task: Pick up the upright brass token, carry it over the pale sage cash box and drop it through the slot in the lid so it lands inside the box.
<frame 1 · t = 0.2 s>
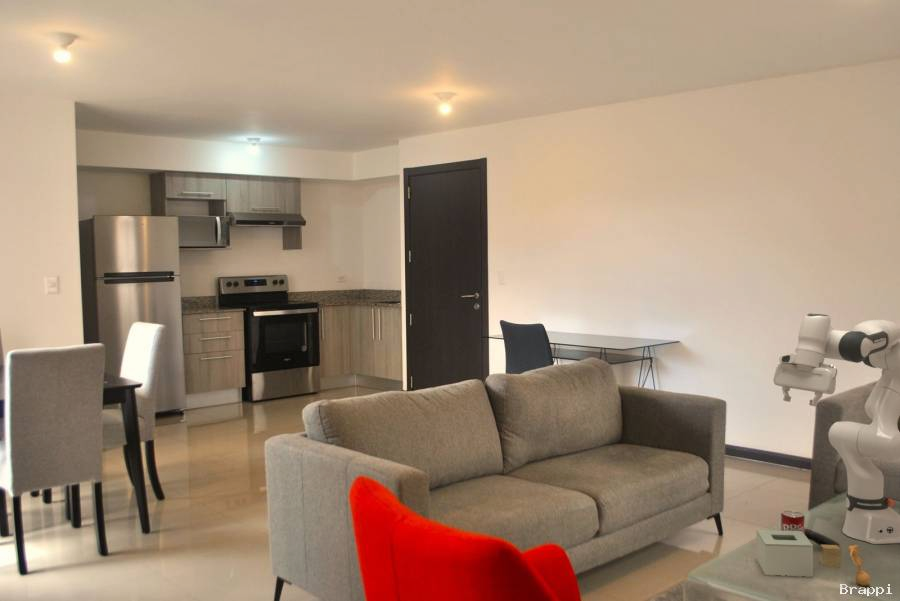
hand: (799, 403, 254), 51 cm above the table, tool tilted 20°, fingers open, 8 cm apart
soda can: (792, 548, 267), on the table
token: (829, 564, 253), on the table
figurine: (858, 584, 238), on the table
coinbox: (783, 568, 251), on the table
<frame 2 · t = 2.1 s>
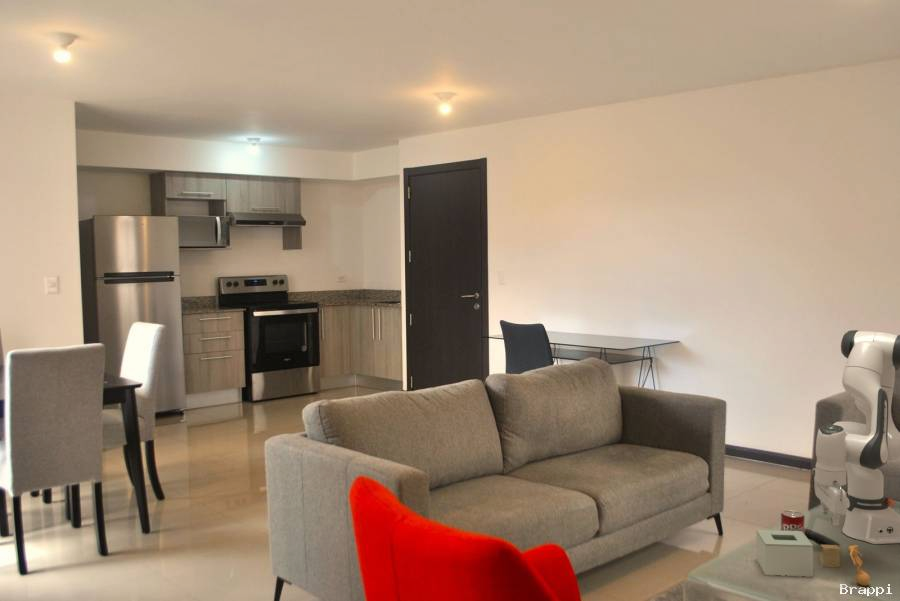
hand: (830, 519, 251), 15 cm above the table, tool pointing down, fingers open, 8 cm apart
nothing on the table moved.
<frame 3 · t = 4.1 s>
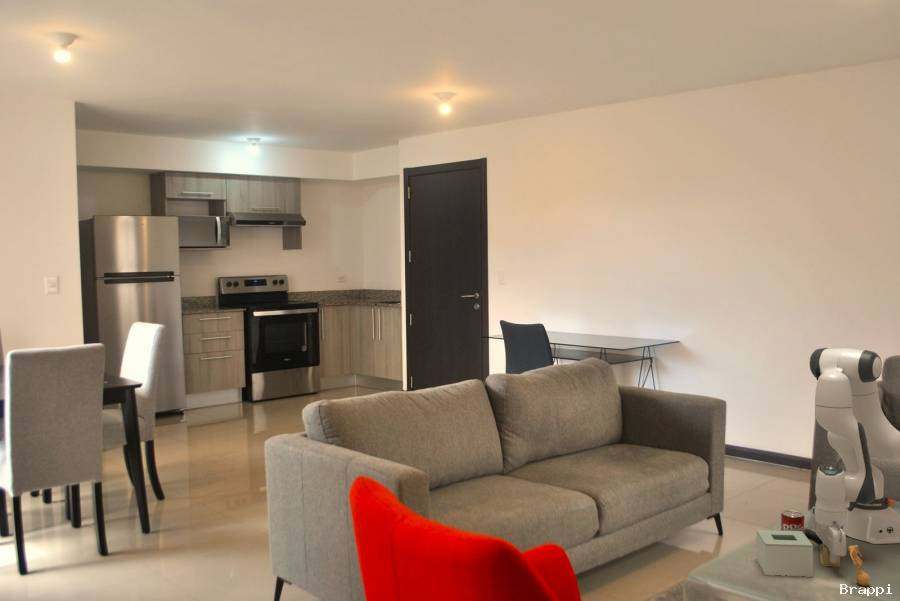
hand: (829, 558, 252), 2 cm above the table, tool pointing down, fingers closed on token, 3 cm apart
token: (829, 564, 253), on the table, touching gripper
everything else where it was.
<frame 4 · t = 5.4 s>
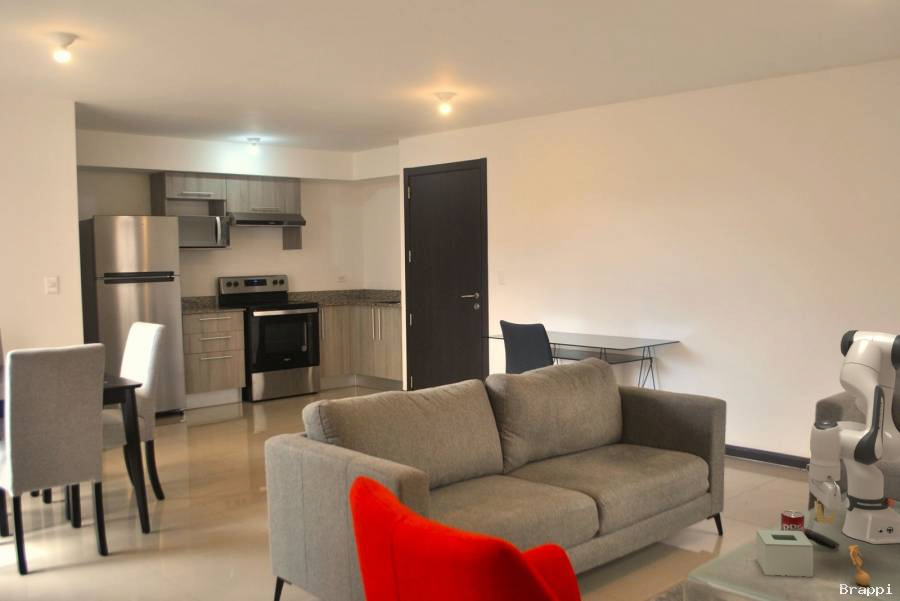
hand: (824, 515, 251), 17 cm above the table, tool pointing down, fingers closed on token, 3 cm apart
token: (824, 521, 251), point 15 cm above the table, touching gripper
everything else where it was.
when the fingers open (13 cm above the table, at t = 6.8 s): token drops 10 cm, resting on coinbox.
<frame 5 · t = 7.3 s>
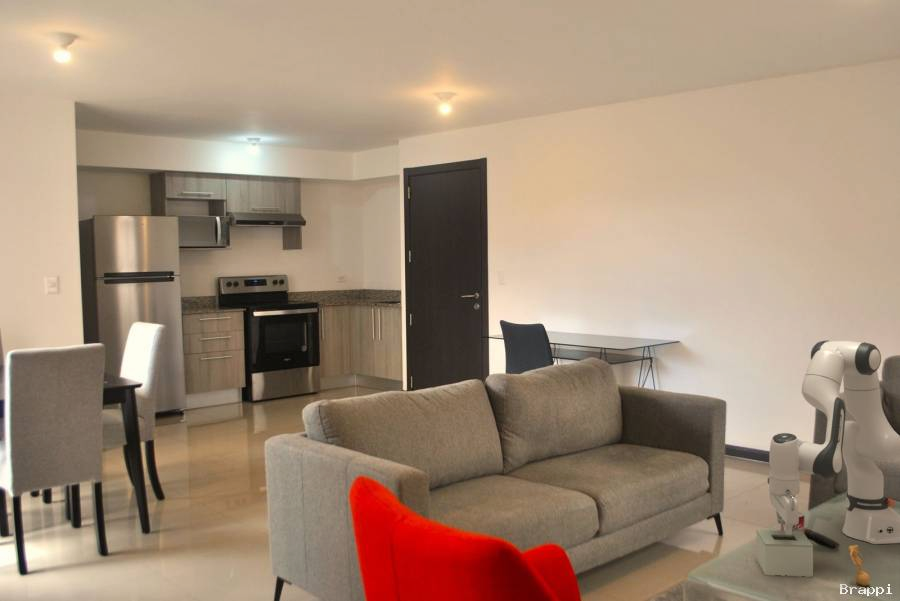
hand: (784, 528, 250), 13 cm above the table, tool pointing down, fingers open, 8 cm apart
token: (783, 565, 251), point 1 cm above the table, touching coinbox
everything else where it was.
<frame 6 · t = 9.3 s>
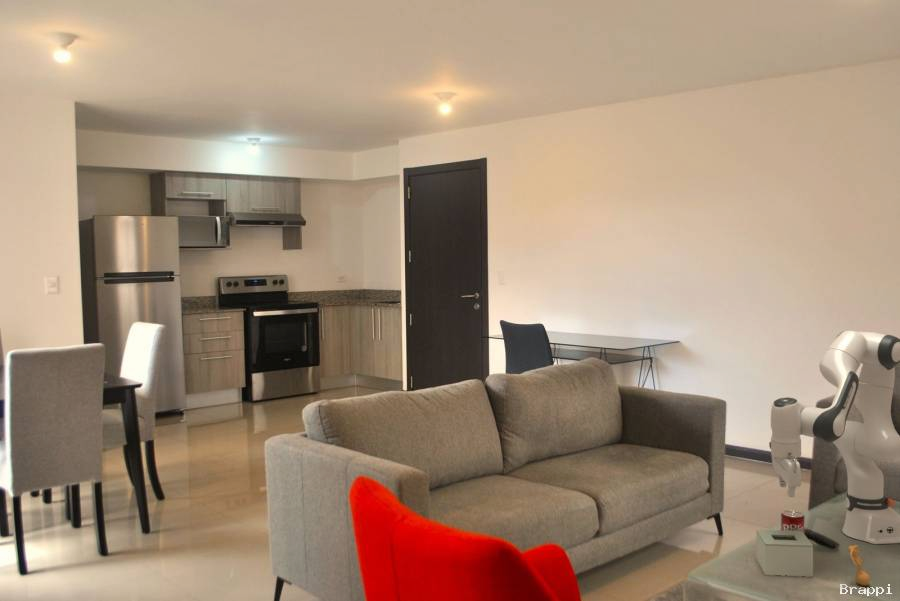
hand: (786, 491, 253), 24 cm above the table, tool pointing down, fingers open, 8 cm apart
nothing on the table moved.
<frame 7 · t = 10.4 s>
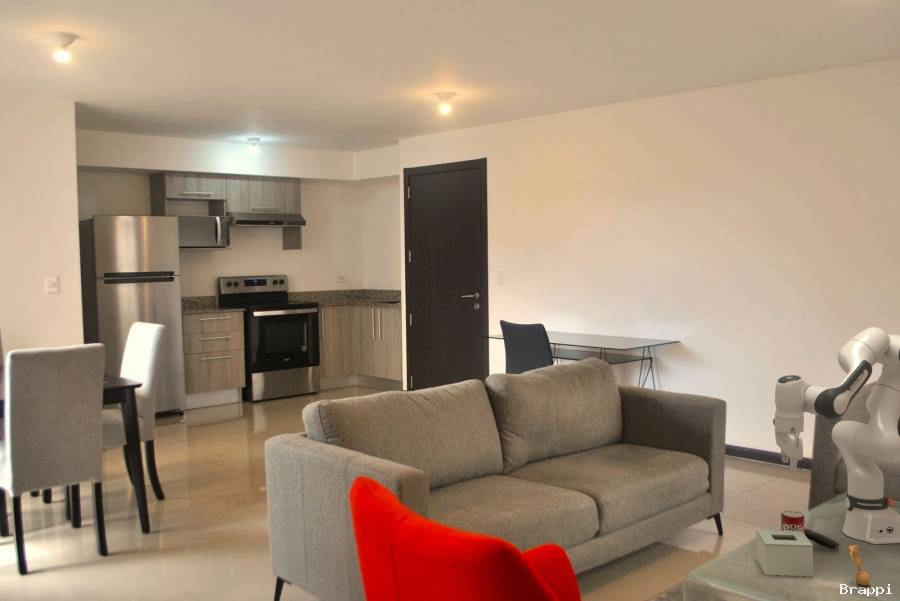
hand: (789, 466, 262), 29 cm above the table, tool pointing down, fingers open, 8 cm apart
nothing on the table moved.
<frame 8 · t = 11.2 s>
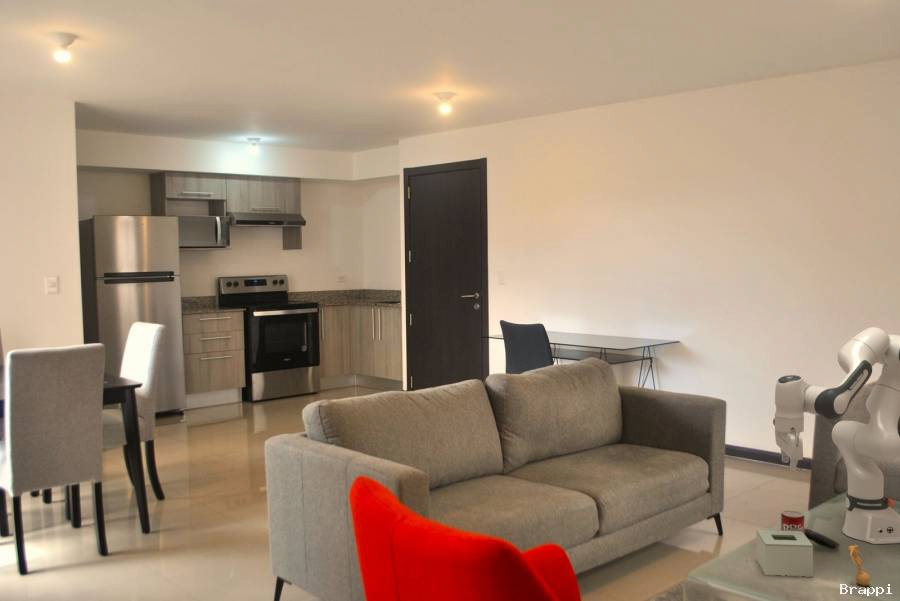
hand: (789, 466, 262), 29 cm above the table, tool pointing down, fingers open, 8 cm apart
nothing on the table moved.
at the end: token inside the target area on the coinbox (0.2 cm from its centre), point 0.6 cm above the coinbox's base; the gripper is holding nothing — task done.
